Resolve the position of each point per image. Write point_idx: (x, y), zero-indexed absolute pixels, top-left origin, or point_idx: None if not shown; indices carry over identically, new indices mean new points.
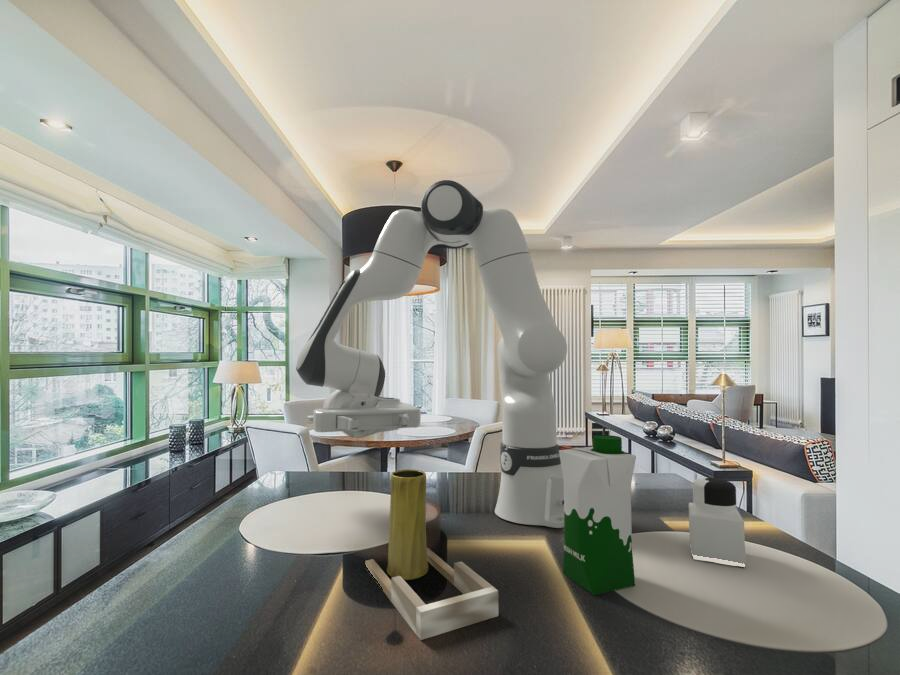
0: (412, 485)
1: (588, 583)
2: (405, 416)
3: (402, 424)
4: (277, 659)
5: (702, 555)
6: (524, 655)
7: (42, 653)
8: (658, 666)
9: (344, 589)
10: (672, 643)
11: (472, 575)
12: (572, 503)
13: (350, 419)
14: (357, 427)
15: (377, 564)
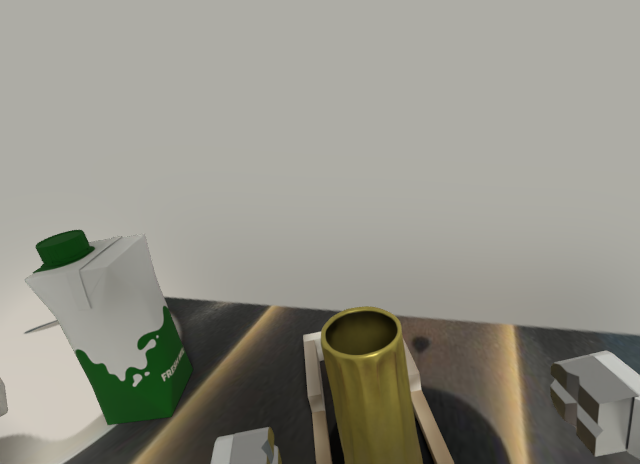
0: (361, 321)
1: (189, 366)
2: (225, 462)
3: (276, 450)
4: (537, 333)
5: (4, 400)
6: (317, 317)
7: None
8: (242, 303)
9: (501, 443)
10: (210, 316)
11: (313, 362)
12: (159, 303)
13: (606, 353)
14: (555, 393)
15: None
